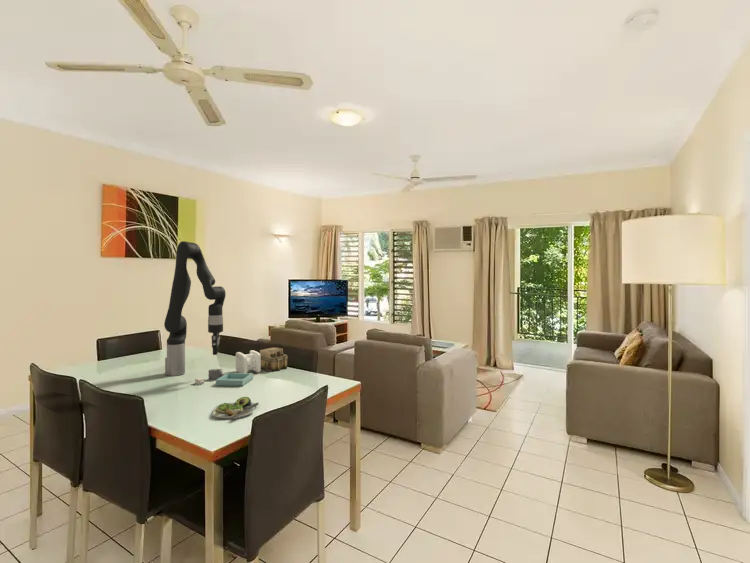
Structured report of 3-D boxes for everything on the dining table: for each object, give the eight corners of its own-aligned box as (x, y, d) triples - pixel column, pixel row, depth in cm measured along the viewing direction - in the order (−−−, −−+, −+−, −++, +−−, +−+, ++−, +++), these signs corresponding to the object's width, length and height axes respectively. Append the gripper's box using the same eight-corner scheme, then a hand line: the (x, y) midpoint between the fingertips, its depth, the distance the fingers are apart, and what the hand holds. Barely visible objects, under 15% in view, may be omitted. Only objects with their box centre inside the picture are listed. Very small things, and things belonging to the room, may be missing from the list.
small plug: (195, 383, 203) (195, 378, 203) (200, 382, 205) (200, 377, 205) (200, 385, 200) (200, 380, 200) (205, 384, 202) (205, 379, 202)
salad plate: (254, 421, 154) (255, 409, 153) (206, 424, 150) (206, 412, 150) (259, 404, 173) (259, 394, 172) (217, 407, 169) (217, 396, 169)
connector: (208, 380, 209) (208, 371, 209) (208, 378, 212) (208, 369, 212) (225, 379, 211) (225, 370, 211) (225, 377, 214) (225, 368, 214)
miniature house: (254, 369, 233) (254, 350, 233) (272, 364, 245) (272, 346, 245) (272, 373, 225) (272, 353, 225) (290, 368, 237) (290, 349, 237)
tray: (215, 385, 199) (215, 379, 199) (227, 378, 213) (227, 372, 213) (242, 386, 198) (242, 380, 198) (252, 378, 212) (252, 373, 212)
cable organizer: (261, 374, 223) (261, 353, 222) (243, 376, 216) (243, 356, 216) (252, 368, 235) (252, 349, 234) (234, 371, 228) (234, 351, 228)
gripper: (221, 324, 205) (222, 355, 205) (224, 321, 219) (224, 350, 219) (206, 325, 203) (206, 356, 203) (209, 321, 216) (210, 351, 217)
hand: (215, 353), depth 211 cm, fingers open, 8 cm apart
